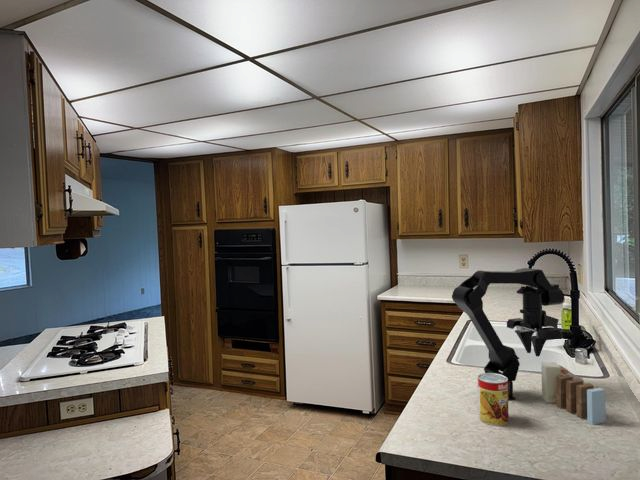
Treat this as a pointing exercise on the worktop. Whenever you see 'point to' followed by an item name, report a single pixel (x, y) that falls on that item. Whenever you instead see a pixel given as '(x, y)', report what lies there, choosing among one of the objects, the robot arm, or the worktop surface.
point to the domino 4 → (596, 406)
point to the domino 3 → (582, 399)
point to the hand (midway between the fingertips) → (533, 354)
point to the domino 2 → (572, 395)
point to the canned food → (493, 399)
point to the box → (550, 380)
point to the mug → (566, 372)
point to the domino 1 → (562, 390)
